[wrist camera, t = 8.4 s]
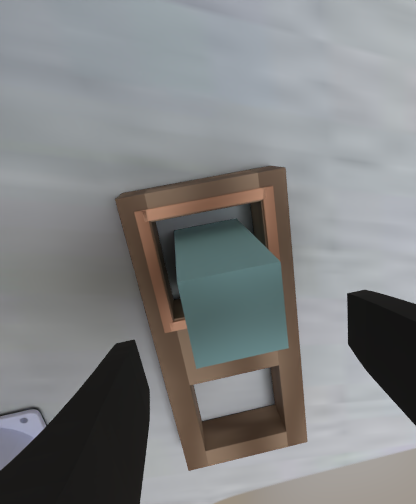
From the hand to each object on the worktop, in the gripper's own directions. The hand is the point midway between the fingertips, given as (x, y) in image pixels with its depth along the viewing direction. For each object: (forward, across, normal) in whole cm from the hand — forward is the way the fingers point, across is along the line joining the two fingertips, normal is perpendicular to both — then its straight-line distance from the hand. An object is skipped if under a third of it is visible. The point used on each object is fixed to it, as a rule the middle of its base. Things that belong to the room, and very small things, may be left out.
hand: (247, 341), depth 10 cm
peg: (+10, 0, 0) cm, 10 cm away
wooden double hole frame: (+10, 0, +6) cm, 11 cm away
